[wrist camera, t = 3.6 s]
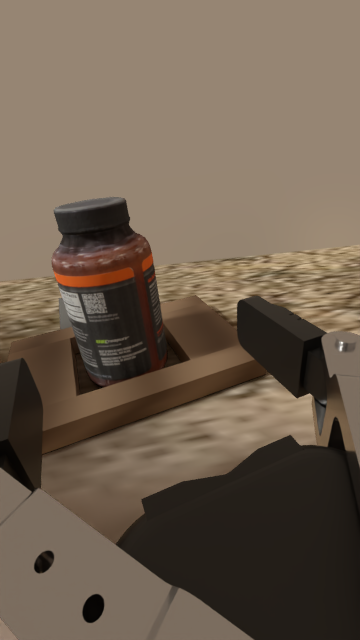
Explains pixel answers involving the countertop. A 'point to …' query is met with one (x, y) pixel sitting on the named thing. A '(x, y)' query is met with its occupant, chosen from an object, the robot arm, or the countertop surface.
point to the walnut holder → (140, 392)
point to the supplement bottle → (109, 290)
